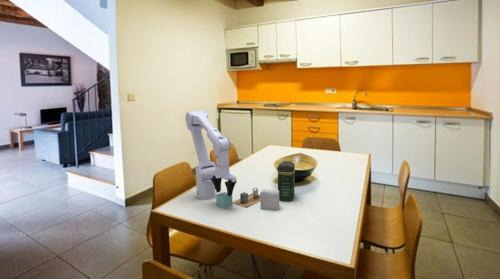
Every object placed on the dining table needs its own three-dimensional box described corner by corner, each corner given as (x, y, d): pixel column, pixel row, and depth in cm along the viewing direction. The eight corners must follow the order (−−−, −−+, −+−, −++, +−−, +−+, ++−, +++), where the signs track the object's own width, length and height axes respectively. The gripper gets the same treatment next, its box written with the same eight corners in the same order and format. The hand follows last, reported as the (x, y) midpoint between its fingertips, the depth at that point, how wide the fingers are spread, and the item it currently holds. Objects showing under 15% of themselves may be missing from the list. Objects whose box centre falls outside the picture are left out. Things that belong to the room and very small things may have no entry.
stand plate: (230, 204, 142) (230, 202, 141) (253, 194, 153) (253, 193, 153) (246, 209, 135) (246, 208, 135) (268, 199, 147) (268, 197, 146)
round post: (251, 197, 147) (251, 189, 146) (255, 196, 149) (255, 187, 148) (255, 199, 145) (255, 190, 144) (259, 197, 147) (259, 188, 146)
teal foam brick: (216, 207, 138) (216, 195, 137) (224, 203, 142) (224, 191, 141) (224, 210, 135) (223, 197, 134) (232, 206, 139) (232, 194, 138)
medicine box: (279, 208, 136) (279, 189, 134) (277, 212, 132) (277, 193, 130) (262, 206, 138) (262, 188, 136) (260, 210, 134) (260, 192, 132)
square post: (240, 202, 141) (240, 193, 140) (244, 201, 143) (243, 192, 142) (244, 204, 139) (244, 195, 138) (248, 202, 141) (248, 193, 140)
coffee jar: (293, 203, 140) (293, 165, 137) (276, 202, 142) (275, 164, 139) (295, 196, 149) (295, 160, 146) (280, 195, 151) (279, 159, 148)
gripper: (205, 164, 137) (207, 192, 139) (227, 169, 127) (228, 200, 130) (217, 161, 142) (218, 188, 144) (239, 166, 132) (240, 195, 135)
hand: (224, 193), depth 137 cm, fingers open, 7 cm apart
